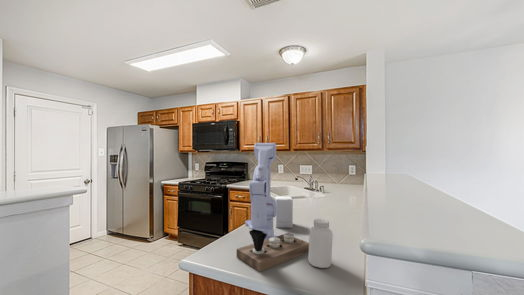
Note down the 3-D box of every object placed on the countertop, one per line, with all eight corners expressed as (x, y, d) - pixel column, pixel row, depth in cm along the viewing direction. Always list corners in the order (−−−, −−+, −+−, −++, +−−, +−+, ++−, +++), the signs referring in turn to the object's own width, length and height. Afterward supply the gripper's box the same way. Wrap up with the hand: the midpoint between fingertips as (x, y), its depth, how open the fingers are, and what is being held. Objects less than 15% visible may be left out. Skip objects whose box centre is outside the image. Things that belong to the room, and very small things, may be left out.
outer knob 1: (250, 258, 84) (250, 249, 84) (259, 255, 87) (259, 246, 87) (257, 262, 80) (257, 253, 80) (266, 259, 83) (266, 250, 83)
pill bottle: (325, 271, 75) (327, 225, 76) (304, 263, 80) (305, 220, 81) (335, 263, 81) (336, 221, 82) (314, 256, 86) (316, 216, 87)
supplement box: (292, 228, 119) (293, 199, 120) (275, 227, 120) (275, 199, 120) (290, 222, 129) (291, 196, 129) (275, 222, 129) (275, 196, 129)
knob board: (236, 256, 86) (236, 248, 86) (285, 240, 102) (285, 233, 102) (259, 271, 75) (259, 262, 75) (310, 250, 91) (310, 243, 91)
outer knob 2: (281, 242, 94) (281, 234, 94) (288, 239, 97) (288, 232, 97) (288, 245, 91) (289, 237, 91) (296, 243, 93) (296, 235, 93)
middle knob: (266, 247, 89) (266, 239, 89) (274, 244, 92) (274, 236, 92) (274, 251, 86) (274, 242, 86) (282, 248, 88) (282, 239, 88)
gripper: (238, 210, 87) (238, 246, 87) (262, 219, 76) (262, 260, 75) (253, 208, 91) (253, 242, 91) (278, 215, 80) (278, 254, 80)
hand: (258, 250), depth 84 cm, fingers closed, pressing on outer knob 1
